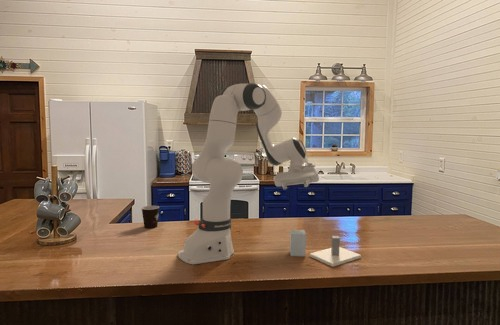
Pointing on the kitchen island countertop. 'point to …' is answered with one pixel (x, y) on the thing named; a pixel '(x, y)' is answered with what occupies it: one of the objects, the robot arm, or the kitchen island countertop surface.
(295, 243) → the tall grey rectangular prism
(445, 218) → the kitchen island countertop surface
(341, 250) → the post board
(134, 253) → the kitchen island countertop surface
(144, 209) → the coffee mug
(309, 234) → the kitchen island countertop surface
